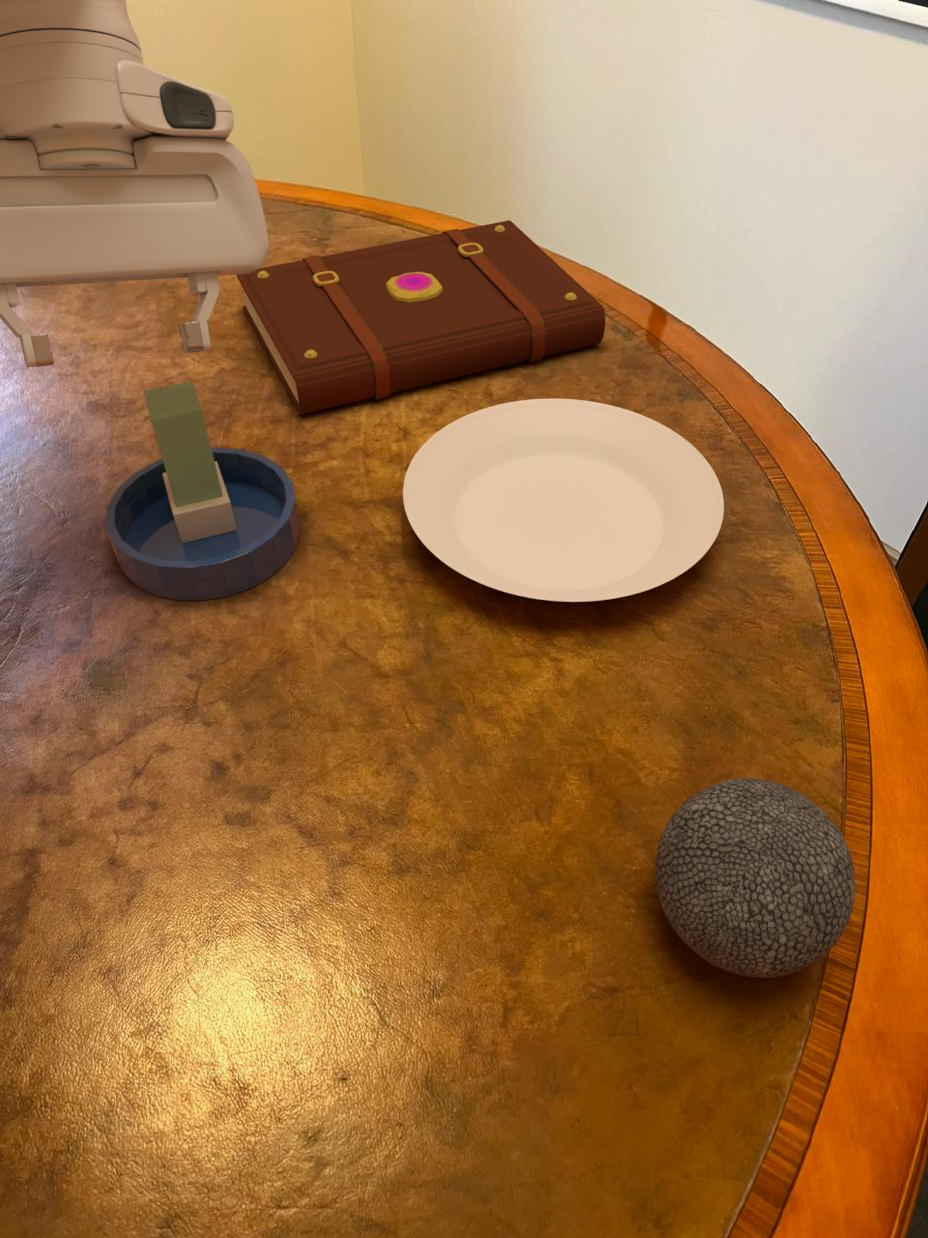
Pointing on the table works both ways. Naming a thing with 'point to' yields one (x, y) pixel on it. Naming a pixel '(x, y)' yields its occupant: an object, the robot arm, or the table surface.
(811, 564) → the table surface
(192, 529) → the green block on base
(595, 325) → the book
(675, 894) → the decorative ball
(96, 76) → the robot arm
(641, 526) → the white dinner plate
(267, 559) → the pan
